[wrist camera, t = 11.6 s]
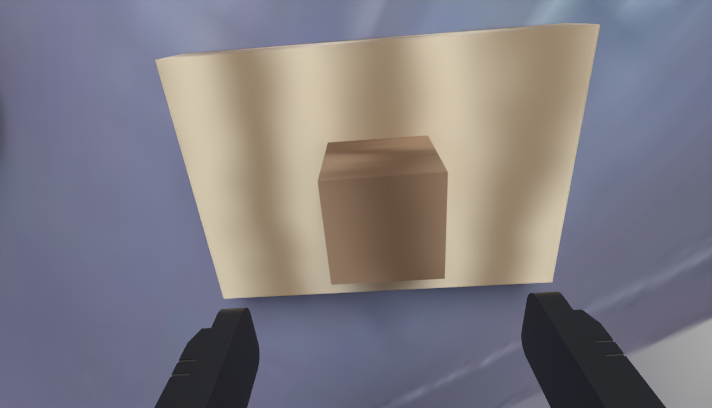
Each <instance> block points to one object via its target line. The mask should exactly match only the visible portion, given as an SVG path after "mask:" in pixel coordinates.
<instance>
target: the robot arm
mask: <svg viewBox="0 0 712 408" xmlns="http://www.w3.org/2000/svg"><path fill="white" fill-rule="evenodd" d="M521 338H522V346H523V350H524V353H525V356H526V358H527V360H528V362H529V364H530V366H531V368H532V370H533V372H534V374H535V376H536V378H537V380H538V382H539V384H540V386H541V389H542V391H543V393H544V395H545V397H546V399H547V401H548V403H549V405H550V407H551V408H666V407H665V406H664V405H663V403H662V402H661V401H660V399H659V398H658V397H657V396H656V394H655V393H654V392H653V390H652V389H651V388H650V387H649V385H648V384H647V383H646V381H645V380H644V379H643V378H642V377H641V375H640V374H639V372H638V371H637V370H636V369H635V367H634V366H633V365H632V363H631V362H630V361H629V360H628V358H627V357H626V356H624V355H623V352H622V350H621V349H620V348H619V347H618V345H617V344H616V343H614V342H613V339H612V338H611V336H610V335H609V334H608V332H607V331H606V330H605V329H604V327H603V326H602V325H601V323H599V322H598V321H597V320H595V319H594V318H593V317H591V316H590V315H588V314H587V313H586V312H584V311H583V310H573V309H572V308H571V306H570V305H569V304H568V302H567V301H566V299H565V298H564V297H563V295H562V294H561V293H559V292H544V293H530V294H529V295H528V297H527V302H526V309H525V315H524V321H523V327H522V333H521ZM258 365H259V345H258V341H257V337H256V333H255V329H254V325H253V321H252V317H251V314H250V311H249V309H248V308H233V309H221V310H220V311H219V312H218V314H217V316H216V319H215V321H214V323H213V325H212V327H211V328H205V329H201V330H200V331H199V332H198V333H197V334H196V335H195V336H194V337H193V338H192V339H191V340H190V341H189V342H188V343H187V345H186V347H185V349H184V351H183V353H182V355H181V357H180V359H179V363H177V365H176V367H175V369H174V371H173V373H172V377H170V379H169V380H168V382H167V384H166V386H165V388H164V390H163V392H162V394H161V396H160V398H159V400H158V402H157V404H156V406H155V408H247V406H248V402H249V399H250V395H251V391H252V388H253V384H254V381H255V377H256V373H257V370H258Z"/></svg>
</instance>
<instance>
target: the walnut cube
mask: <svg viewBox="0 0 712 408" xmlns="http://www.w3.org/2000/svg"><path fill="white" fill-rule="evenodd" d="M318 188H319V196H320V203H321V211H322V219H323V226H324V234H325V241H326V249H327V256H328V264H329V272H330V279H331V285H337V284H356V283H374V282H393V281H411V280H430V279H445V255H446V222H447V188H448V171H447V170H446V168H445V166H444V164H443V162H442V160H441V159H440V157H439V155H438V153H437V151H436V149H435V148H434V146H433V144H432V142H431V140H430V139H429V137H428V135H426V136H412V137H398V138H384V139H370V140H356V141H342V142H328V144H327V148H326V151H325V155H324V159H323V163H322V166H321V170H320V174H319V177H318Z"/></svg>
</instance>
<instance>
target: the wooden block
mask: <svg viewBox="0 0 712 408" xmlns="http://www.w3.org/2000/svg"><path fill="white" fill-rule="evenodd" d="M599 28H600V24H581V23H561V24H549V25H536V26H524V27H512V28H499V29H487V30H474V31H462V32H450V33H437V34H425V35H412V36H400V37H388V38H375V39H363V40H350V41H338V42H326V43H313V44H301V45H288V46H276V47H264V48H251V49H239V50H226V51H214V52H202V53H189V54H180V55H176V56H171V57H166V58H162V59H157V60H155V61H156V64H157V68H158V71H159V75H160V78H161V82H162V85H163V89H164V92H165V96H166V99H167V103H168V106H169V110H170V113H171V117H172V120H173V124H174V127H175V131H176V134H177V137H178V141H179V144H180V148H181V151H182V155H183V158H184V162H185V165H186V169H187V172H188V176H189V179H190V183H191V186H192V190H193V193H194V197H195V200H196V204H197V207H198V211H199V214H200V217H201V221H202V224H203V228H204V231H205V235H206V238H207V242H208V245H209V249H210V252H211V256H212V259H213V263H214V266H215V270H216V273H217V277H218V280H219V284H220V287H221V291H222V294H223V297H224V299H228V298H248V297H267V296H287V295H307V294H327V293H347V292H367V291H387V290H406V289H426V288H446V287H466V286H486V285H506V284H526V283H545V282H552V280H553V275H554V270H555V264H556V259H557V254H558V248H559V243H560V237H561V232H562V227H563V221H564V216H565V211H566V205H567V200H568V194H569V189H570V184H571V178H572V173H573V168H574V162H575V157H576V151H577V146H578V141H579V135H580V130H581V125H582V119H583V114H584V108H585V103H586V98H587V92H588V87H589V82H590V76H591V71H592V65H593V60H594V55H595V49H596V44H597V39H598V33H599ZM426 135H428V137H429V139H430V140H431V142H432V144H433V146H434V148H435V149H436V151H437V153H438V155H439V157H440V159H441V160H442V162H443V164H444V166H445V168H446V170H447V171H448V188H447V222H446V255H445V279H430V280H411V281H393V282H374V283H356V284H337V285H331V279H330V272H329V264H328V256H327V249H326V241H325V234H324V226H323V219H322V211H321V203H320V196H319V188H318V177H319V174H320V170H321V166H322V163H323V159H324V155H325V151H326V148H327V144H328V142H342V141H356V140H370V139H384V138H398V137H412V136H426Z"/></svg>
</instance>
